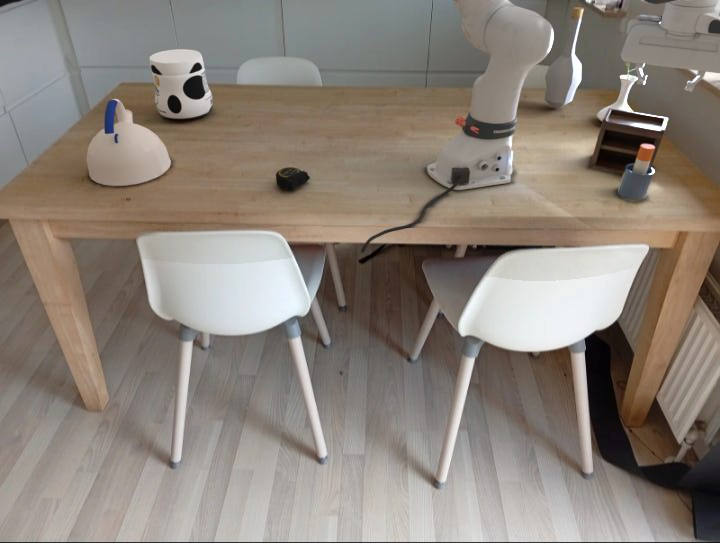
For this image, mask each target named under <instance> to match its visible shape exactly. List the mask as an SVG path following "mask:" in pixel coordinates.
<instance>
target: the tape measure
mask: <svg viewBox="0 0 720 543" xmlns="http://www.w3.org/2000/svg"><path fill="white" fill-rule="evenodd" d="M309 180H310V175H309V174H308V172H307V171H305V170H301V169H300V168H297V167H293V166H288V167H282V168H281V169H279V170H278V171H277V172H276V173H275V181H276V186H277V187H278V188H280V189H281V190H287V191H294V190H296V189H297V188H298V187H300V186H302V185H304V184H306V183H308V182H309Z"/></svg>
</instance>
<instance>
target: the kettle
mask: <svg viewBox="0 0 720 543" xmlns="http://www.w3.org/2000/svg"><path fill="white" fill-rule="evenodd" d="M115 114H116V115H115ZM133 114H134V113H133V112H132V111H131V110H129V109H126V107H125V106H124V104H123V102H122V101H121V100H120V99H118V98H112V99H110V100H108V101H107V103H106V107H105V112H104V122H103V123H104V126H103V127H104V128H102V129H101V130H99V131H98V132H97V134H95V135H94V137H93V138H92V139H91V141H90V143H89V144H88V147H87V152H86V164H87V169H88V176H89V177H90V179H91V180H92V181H94V182H95V183H97V184H100V185H103V186H108V187H129V186H135V185H139V184H143V183H148V182H150V181H153V180H155V179H157V178H159V177H161V176H162V175H164V174H165V173H166V172H167V171H168V170H169V169H170V167H171V165H172V161H171V159H170V155H169V153H168V149H167V147H166V145H165V144H164V143H163V141H162V140H161V138H160V136H158V135H157V134H156V133H155V132H153V131H152V130H151V129H149V128H147V127H145V126H142V125H140V124H137V123H134V121H133ZM115 116H116V118H117V122H116V123H115Z"/></svg>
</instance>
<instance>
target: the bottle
mask: <svg viewBox="0 0 720 543" xmlns="http://www.w3.org/2000/svg"><path fill="white" fill-rule="evenodd" d="M572 9H573V10H572V15H571V16H570V23H569V27H568V31H567V32H568V33H567V37H566V42H565V46H564V48H563V51H562V54H561V55H560V56H559V57H558V58H557V59H556V60H554V61H553V62H552V63H551V64H549V67H548V69H547V71H546V73H545V76H544V77H545V78H544V79H545V94H544V101H545V102H546V103H547V104H548V105H549V107H552V108H554V109H556V110H558V109H561V108H562V107H564V106H566V105H567V104H569V103H571V102H572V101H573V99H574V96H575V94H576V90H577V89H578V86H579V85H580V84H581V82H582V68H583V67H582V63H581V61H580V60H579V58H578V57H577V55H576V54H575V52H576V45H577V40H578V35H579V31H580V26H581V23H582V20H583V16H584V15H583V13H584V10H585V8H584V7H581V6H580V7H579V6H574V7H573V8H572Z"/></svg>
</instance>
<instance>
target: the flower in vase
mask: <svg viewBox="0 0 720 543" xmlns="http://www.w3.org/2000/svg"><path fill="white" fill-rule="evenodd" d="M630 64H631V62H625V63H624V66H626V68H627V72H626V73H627V74H621V75H619V79H620V84H621V86H620V92H619V95H618V98H617V100H616V101H615V102H614V103H612V104H610V105H608V106H605V107H604V108H602V109H601V110H599V112H597V115H596V117H597V119H598V120H599V121H600V122H602V121H603V118H604V116H605V115H606V113H607V111H608V109H609V108H612V109H618V110H624V111H630V112H634V110H632V109H631V107H630V106H629V104H628V101H627V100H628V97H629V96H628V95H629V93H630V90H631V88H632V86H633V85H634V83H636V82H637V81H638V78H639V77H638V76H636V75H633V74H632V75H631V74H630V72H632V71H634V70H635V71H636V67H635V68H633V69H630Z"/></svg>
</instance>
